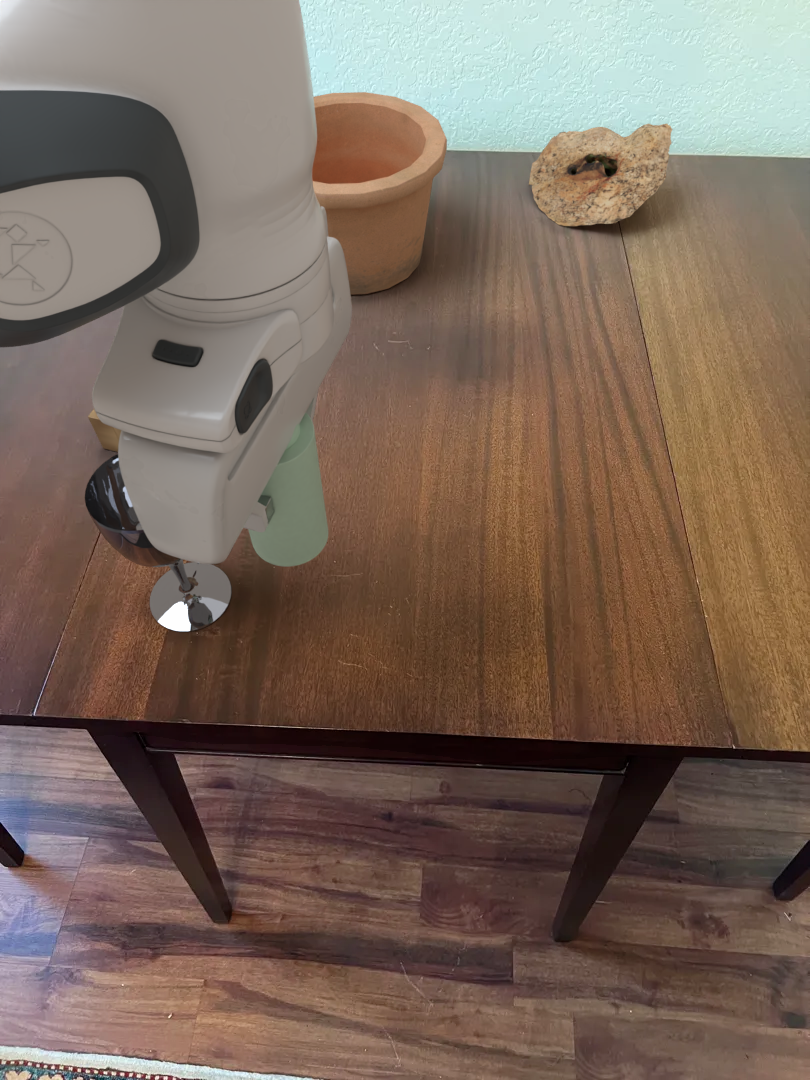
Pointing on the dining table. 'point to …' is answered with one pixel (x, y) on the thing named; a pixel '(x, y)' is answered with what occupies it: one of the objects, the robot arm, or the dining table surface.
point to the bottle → (295, 504)
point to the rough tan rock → (599, 174)
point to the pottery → (376, 182)
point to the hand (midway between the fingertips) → (278, 481)
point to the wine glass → (156, 557)
